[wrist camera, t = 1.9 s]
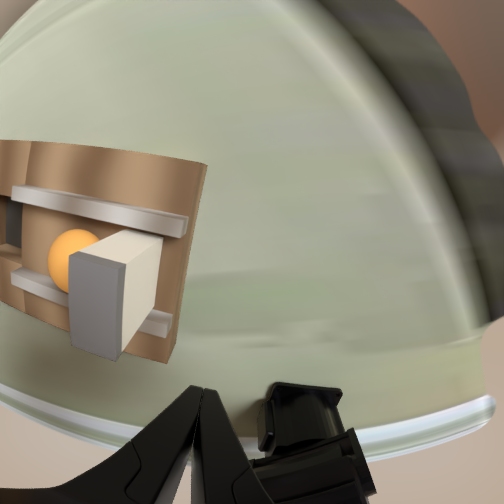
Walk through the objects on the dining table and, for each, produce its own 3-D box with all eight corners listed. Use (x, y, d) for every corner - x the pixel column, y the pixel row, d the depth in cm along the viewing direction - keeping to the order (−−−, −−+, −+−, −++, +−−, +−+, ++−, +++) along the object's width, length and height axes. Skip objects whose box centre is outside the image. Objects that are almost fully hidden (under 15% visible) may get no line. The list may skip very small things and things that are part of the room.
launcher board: (207, 165, 19) (195, 161, 15) (175, 343, 22) (161, 376, 18) (2, 140, 18) (-30, 139, 13) (-5, 278, 21) (-32, 293, 17)
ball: (120, 230, 17) (89, 244, 13) (115, 288, 18) (87, 313, 14) (71, 219, 17) (35, 229, 13) (68, 274, 18) (36, 294, 14)
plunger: (163, 237, 17) (118, 269, 11) (154, 305, 18) (115, 361, 12) (126, 228, 17) (68, 255, 10) (119, 296, 18) (71, 345, 12)
